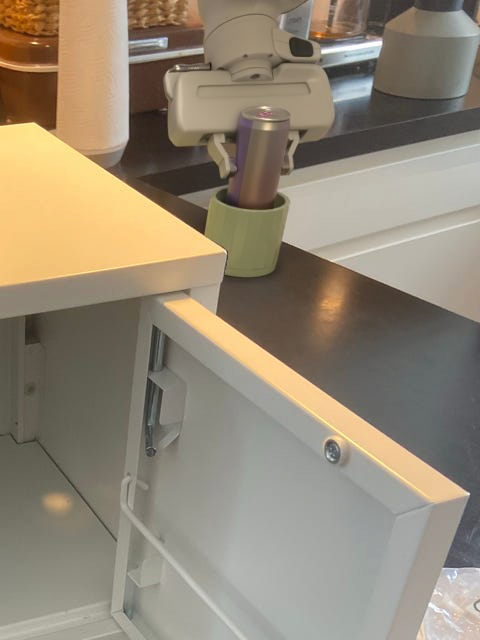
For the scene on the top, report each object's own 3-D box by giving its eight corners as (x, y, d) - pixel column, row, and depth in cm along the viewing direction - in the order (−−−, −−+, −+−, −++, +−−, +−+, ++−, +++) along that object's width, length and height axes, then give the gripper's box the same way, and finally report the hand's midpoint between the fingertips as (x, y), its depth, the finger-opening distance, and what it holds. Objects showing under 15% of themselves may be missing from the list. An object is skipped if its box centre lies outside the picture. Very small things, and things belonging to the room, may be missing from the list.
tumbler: (268, 249, 126) (281, 186, 120) (282, 278, 119) (297, 212, 113) (196, 247, 126) (206, 184, 120) (206, 276, 119) (217, 210, 113)
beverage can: (209, 243, 120) (230, 112, 110) (234, 230, 124) (258, 102, 113) (250, 255, 117) (275, 122, 107) (274, 243, 121) (302, 112, 110)
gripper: (169, 47, 110) (184, 164, 110) (333, 43, 113) (348, 156, 113) (153, 81, 116) (167, 191, 116) (308, 76, 119) (322, 184, 119)
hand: (257, 174), depth 114 cm, fingers closed on beverage can, 6 cm apart
